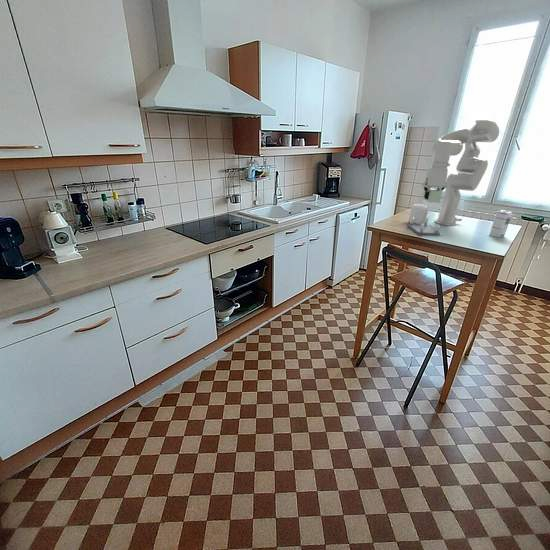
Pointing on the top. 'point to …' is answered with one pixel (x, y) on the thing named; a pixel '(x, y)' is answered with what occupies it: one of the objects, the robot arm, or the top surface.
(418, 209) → the photo printer
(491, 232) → the syrup box
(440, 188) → the robot arm
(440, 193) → the green block
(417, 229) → the standoff plate
